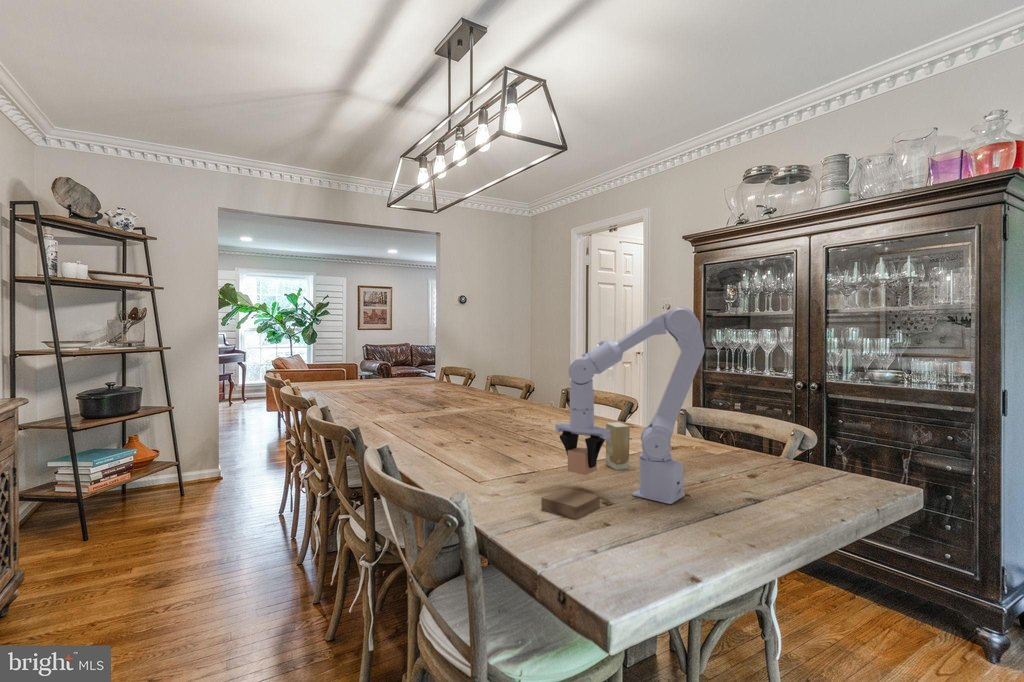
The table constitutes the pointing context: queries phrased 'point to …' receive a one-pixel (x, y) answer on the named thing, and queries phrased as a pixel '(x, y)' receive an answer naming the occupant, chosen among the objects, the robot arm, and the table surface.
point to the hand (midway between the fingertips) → (582, 464)
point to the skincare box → (618, 446)
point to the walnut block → (570, 503)
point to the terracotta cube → (579, 461)
